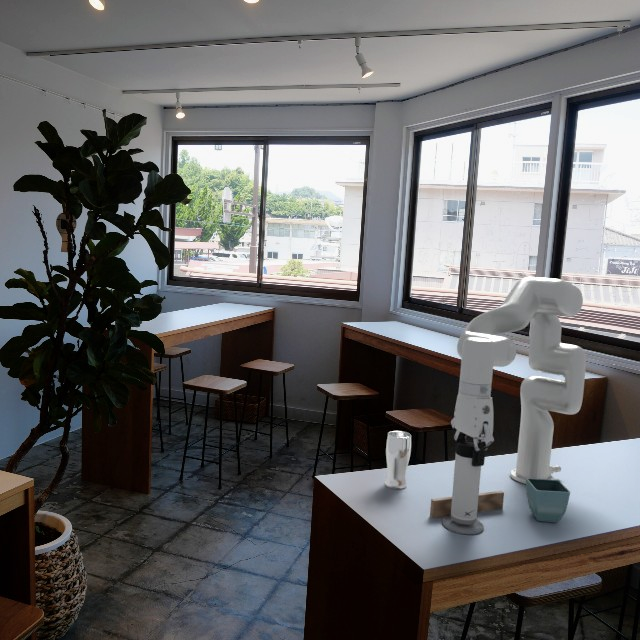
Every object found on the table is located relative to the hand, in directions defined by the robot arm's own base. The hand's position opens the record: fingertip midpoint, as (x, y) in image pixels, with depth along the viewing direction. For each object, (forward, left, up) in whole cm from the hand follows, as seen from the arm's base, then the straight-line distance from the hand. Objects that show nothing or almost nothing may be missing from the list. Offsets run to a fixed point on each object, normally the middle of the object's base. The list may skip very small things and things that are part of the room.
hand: (468, 460), depth 153 cm
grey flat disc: (0, 0, -17) cm, 17 cm away
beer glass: (+3, -28, -17) cm, 33 cm away
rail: (-6, -6, -17) cm, 19 cm away
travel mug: (0, 0, -15) cm, 15 cm away
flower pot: (-24, +2, -17) cm, 29 cm away
